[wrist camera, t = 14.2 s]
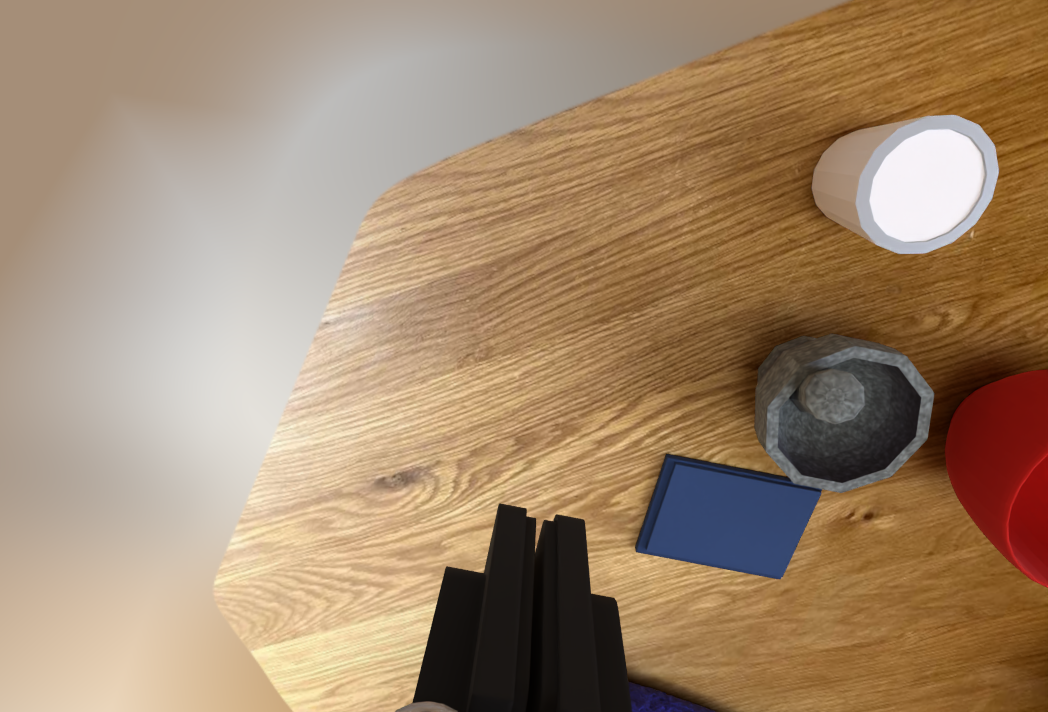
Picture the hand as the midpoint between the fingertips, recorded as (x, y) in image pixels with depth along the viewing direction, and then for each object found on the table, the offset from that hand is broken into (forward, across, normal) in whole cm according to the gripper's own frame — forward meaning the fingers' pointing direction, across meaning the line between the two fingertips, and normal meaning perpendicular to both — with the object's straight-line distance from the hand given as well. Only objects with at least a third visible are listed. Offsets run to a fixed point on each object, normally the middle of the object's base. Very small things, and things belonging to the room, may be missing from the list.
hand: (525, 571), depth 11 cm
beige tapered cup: (+29, -18, -9) cm, 36 cm away
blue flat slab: (+29, -18, +17) cm, 38 cm away
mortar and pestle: (+29, -19, +4) cm, 35 cm away
